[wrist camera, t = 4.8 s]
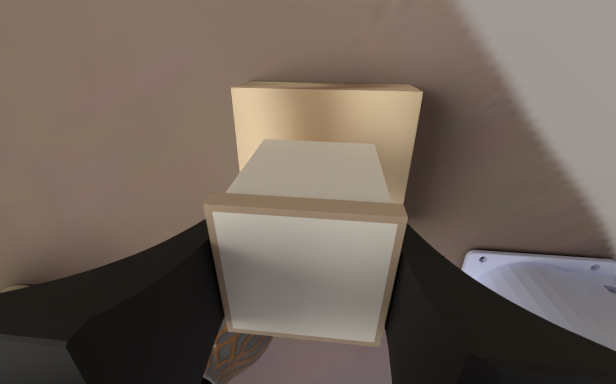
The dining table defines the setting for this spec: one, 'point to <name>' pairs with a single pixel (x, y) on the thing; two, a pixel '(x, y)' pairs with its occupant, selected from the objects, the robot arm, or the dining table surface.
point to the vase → (233, 354)
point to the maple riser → (332, 120)
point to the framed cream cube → (307, 243)
